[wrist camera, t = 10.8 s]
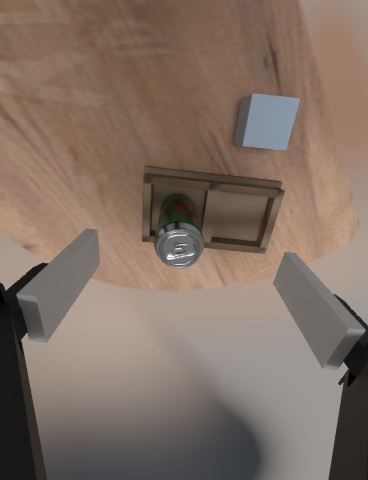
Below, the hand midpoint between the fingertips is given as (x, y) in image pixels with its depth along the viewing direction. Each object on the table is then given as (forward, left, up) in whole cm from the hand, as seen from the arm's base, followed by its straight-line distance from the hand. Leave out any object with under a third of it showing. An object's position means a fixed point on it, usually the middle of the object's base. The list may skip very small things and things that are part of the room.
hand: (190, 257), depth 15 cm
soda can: (+2, -1, -17) cm, 17 cm away
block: (-10, +8, -18) cm, 22 cm away
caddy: (+2, +3, -18) cm, 18 cm away
